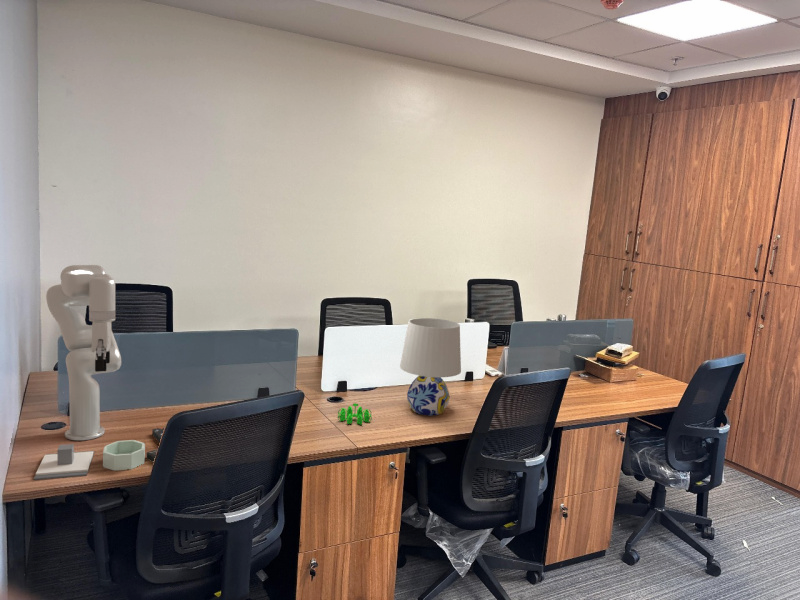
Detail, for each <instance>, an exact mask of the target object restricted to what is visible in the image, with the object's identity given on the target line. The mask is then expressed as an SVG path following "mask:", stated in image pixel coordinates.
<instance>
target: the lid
mask: <svg viewBox="0 0 800 600" xmlns="http://www.w3.org/2000/svg"><path fill="white" fill-rule="evenodd" d="M74 447H75V444H74V443H71V444H69V443H68V444H59V445H58V447H57V450H56V451H57V454H55V453H49V454H50V455H46V454H44V456H43V458H42V460H41V462H40V465H39V466H38V468H37V471H36V472H35V476H36V475H47V474H59V473H71V472H83V471H88V472H89V470H88V469H90V467H89V465H90V466H91V464H90V462H91V463H92V461H91V459H92V460H93V458H92V456H93V457H94V455H93V451H94V450H90V451H91V452H84V451H76V452H77V453H74V452H75V448H74Z"/></svg>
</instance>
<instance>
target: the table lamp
mask: <svg viewBox="0 0 800 600" xmlns="http://www.w3.org/2000/svg"><path fill="white" fill-rule="evenodd" d="M403 343H404V344H403V349H402V352H401V353H402V354H401V358H400V359H401V361H400V365H399V368H400V370H402V371H404V372H406V373H408V374H411V375H415V376H417V377H416V378H414V380H413V381H412V382H411V384H410V386H409V387H408V390H407V393H406V400H407V403H408V405H409V407H410V408H411V411H413V412H414V413H415V412H416V414H417V413H418V415H421V414H422V416H427V415H428V416H429V417H431V416H433V415H434V416H439V415H441V414H442V413H443V412H444V411H445V410H446V409H447V407H448V405H449V403H450V398H451V396H450V392H449V389H448V385H447V384H446V382H445V381H444V379H443V378H453V377H455V376H459V375H460V374H461V372H462V366H461V365H462V364H461V363H462V361H461V359H462V358H461V325H460V324H459V323H458V322H456V321H452V320H449V319H442V318H432V317H418V318H417V317H416V318H411V319H408V322H407V327H406V332H405V338H404V342H403Z"/></svg>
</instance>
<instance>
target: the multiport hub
mask: <svg viewBox="0 0 800 600" xmlns="http://www.w3.org/2000/svg"><path fill="white" fill-rule="evenodd" d="M156 452H157V449H154V450H150V451H147V452H146V459H147V460H149V461H150V460H151V462H152V463H154V462H153V461H154V458H155V456H156Z"/></svg>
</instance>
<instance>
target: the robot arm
mask: <svg viewBox="0 0 800 600" xmlns="http://www.w3.org/2000/svg"><path fill="white" fill-rule="evenodd" d="M59 276H60V284H55V285H52V286H50V287H49V288H48V289H47V291H46V295H45V297H46V304H47V307H48V310H49V312H50V314H51V315H52V317H53V318H54V320H55V321H56V322H57V324H58V326H59V329H60V333H61V336H62V339H63V342H64V345H65V347H66V349H67V350H68V351H69V352H68V354H66V357H65V364H66V365H65V366H66V370H67V376H68V377H67V378H68V391H69V393H68V395H69V399H68V400H69V401H68V402H69V429H67V430H66V431H65V432H64V437H65V439H68V440H71V441H88V440H93V439H97V438H99V437H101V436H103V435H104V434H105V431H106V429H105V428H104V427H103V426H101V425H100V424H101V421H100V420H101V419H100V417H101V413H100V409H101V408H100V402H101V401H100V400H101V399H100V384H99V383H98V382H97V380H96V379H94V378H93V376H95V375H97V374H98V375H99V374H106V373H114V372H117V371H119V369H120V368H121V366H122V355H121V352H120V349H119V347H118V343H117V341H116V339H115V336H114V335H115V334H114V332H113V330H112V322H115V321H116V281H115V279H114V278H112V276H111V275H110V274H108V273H106V271H105V269H104V268H103V267H102V266H101V265H98V264H77V265H76V264H75V265H74V264H73V265H69V266H65V267H64V269H62V271H61V272H60V275H59ZM87 306H88V315H89V316H88V317H89V318H88V320H89V322H91V323H92V324H90V325H89V324H87V322H86V320H85V317H84V316H83V315H82V314H81V313H80V311H79V312H78V311H77V310H76V309H74V308H73V307H87Z"/></svg>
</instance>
